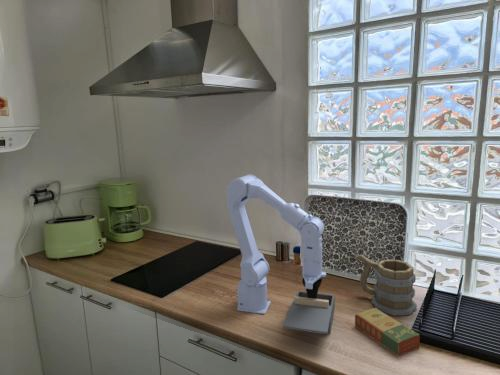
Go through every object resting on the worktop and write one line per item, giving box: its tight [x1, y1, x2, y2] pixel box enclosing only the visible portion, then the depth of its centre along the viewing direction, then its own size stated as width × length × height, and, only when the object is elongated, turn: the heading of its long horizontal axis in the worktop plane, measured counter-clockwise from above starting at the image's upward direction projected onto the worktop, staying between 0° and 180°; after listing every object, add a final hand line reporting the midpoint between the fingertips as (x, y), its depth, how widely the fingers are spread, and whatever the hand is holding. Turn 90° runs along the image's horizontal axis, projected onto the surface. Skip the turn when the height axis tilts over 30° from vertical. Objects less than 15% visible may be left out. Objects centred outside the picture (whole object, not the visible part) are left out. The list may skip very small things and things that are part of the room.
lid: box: [282, 295, 332, 335], centre depth 101 cm, size 12×14×2 cm
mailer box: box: [293, 290, 336, 335], centre depth 110 cm, size 12×14×5 cm
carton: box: [354, 307, 421, 357], centre depth 100 cm, size 8×16×4 cm, turn 26°
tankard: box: [354, 253, 417, 317], centre depth 118 cm, size 20×13×15 cm, turn 45°
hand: (312, 300), depth 109 cm, fingers closed
